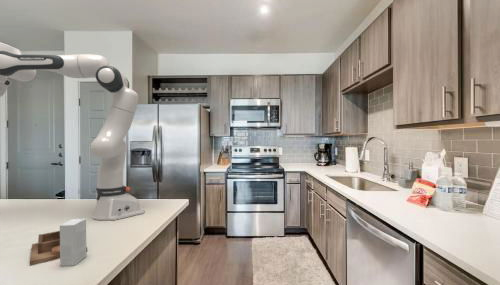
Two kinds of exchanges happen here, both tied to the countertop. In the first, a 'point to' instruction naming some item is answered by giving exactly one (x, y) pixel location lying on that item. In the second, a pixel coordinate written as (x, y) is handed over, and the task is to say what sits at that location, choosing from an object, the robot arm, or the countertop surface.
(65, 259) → the skincare box
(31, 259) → the organiser tray
